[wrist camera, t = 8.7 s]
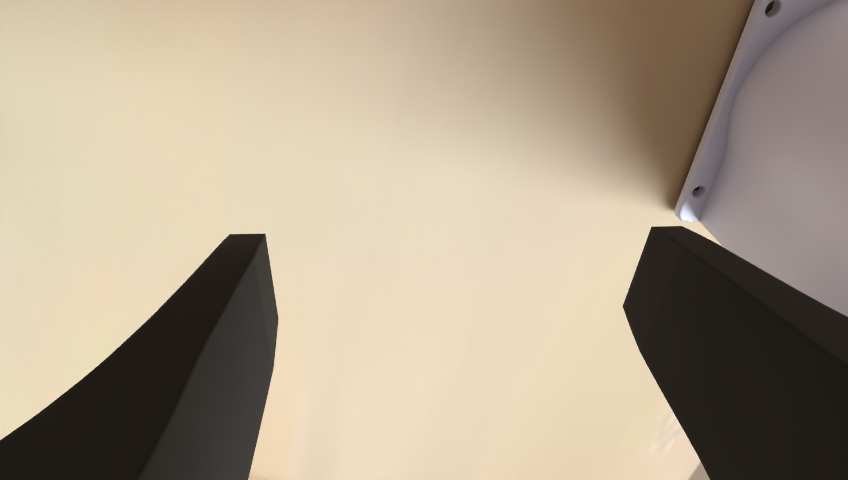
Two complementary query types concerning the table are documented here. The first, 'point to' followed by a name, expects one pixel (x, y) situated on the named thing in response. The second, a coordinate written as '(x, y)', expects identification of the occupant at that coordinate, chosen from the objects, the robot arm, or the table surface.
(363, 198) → the table surface
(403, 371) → the table surface
